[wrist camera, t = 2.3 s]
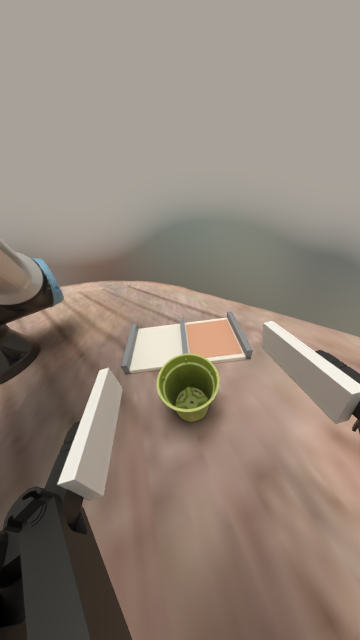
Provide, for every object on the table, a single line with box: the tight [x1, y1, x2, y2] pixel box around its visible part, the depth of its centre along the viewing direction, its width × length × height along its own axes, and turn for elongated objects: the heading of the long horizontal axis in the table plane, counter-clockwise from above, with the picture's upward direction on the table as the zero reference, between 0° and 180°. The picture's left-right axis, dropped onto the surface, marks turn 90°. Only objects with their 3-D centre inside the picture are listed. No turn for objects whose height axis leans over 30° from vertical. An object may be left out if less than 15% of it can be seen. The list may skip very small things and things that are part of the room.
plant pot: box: [157, 353, 219, 422], centre depth 26 cm, size 9×9×9 cm
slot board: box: [121, 312, 253, 374], centre depth 40 cm, size 28×14×3 cm, turn 94°
